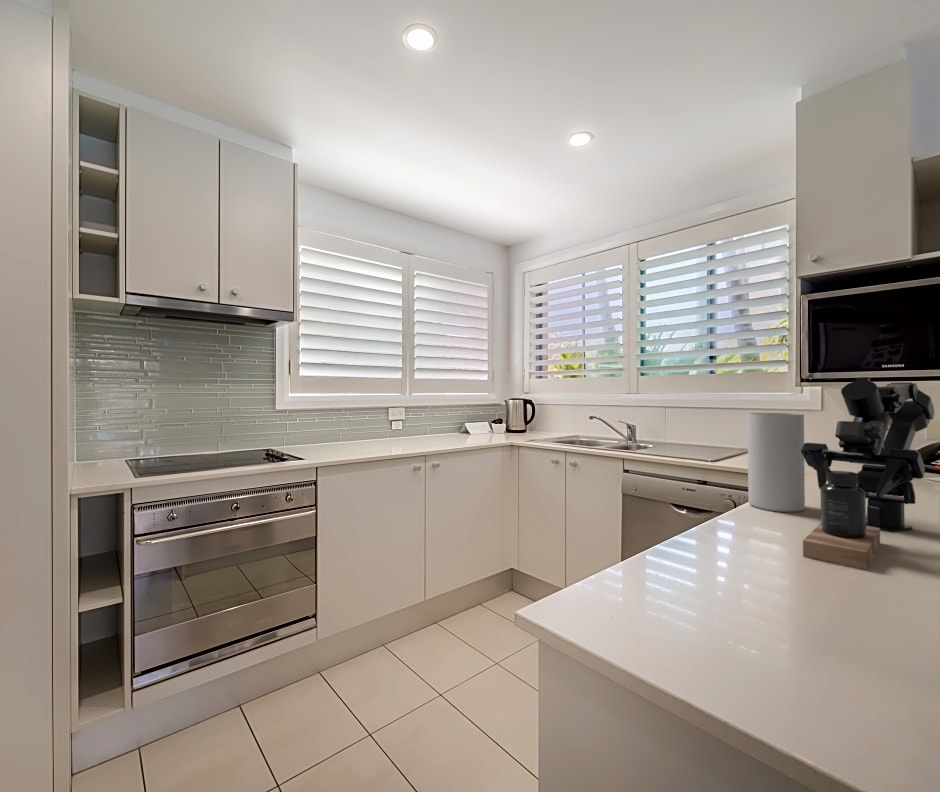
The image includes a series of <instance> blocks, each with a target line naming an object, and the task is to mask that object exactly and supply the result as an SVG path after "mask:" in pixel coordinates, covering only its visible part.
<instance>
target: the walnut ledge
mask: <svg viewBox="0 0 940 792" xmlns="http://www.w3.org/2000/svg"><path fill="white" fill-rule="evenodd" d="M880 544H881V529H880V528H876V527H872V526H868V525H866V536H865V537H863V538H846V537H839V536H834V535H830V534H827V533H825V532H824V531H823V530H822V528H821V522H820V523H819V524H818V525H817V526H816V527H815V528H814V529H813V530H812V531H811V532H810V533H809V534H808V535H807V536H806V537H805V538H804V539H802V556H803V557H804V556H806V557H805V558H809V557H810V558H809V559H813V558H816V559H815V560H818V559H821V560H820V561H823V560H826V561H825V562H828V561H831V562H830V563H833V562H835V563H834V564H838V563H840V564H839V565H842V564H844V565H843V566H847V565H849V566H848V567H852V566H853V567H852V568H858V569H863V570H868V568H869V566H870V564H871V561H872V560H873V558H874V555H875V554H876V552H877V550H878V548H879V546H880Z"/></svg>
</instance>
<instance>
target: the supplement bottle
mask: <svg viewBox="0 0 940 792" xmlns="http://www.w3.org/2000/svg"><path fill="white" fill-rule="evenodd" d="M826 482H827V483H826V484H825V485H823V486H822V487H821V489H820V520H821V521H820V523H821V528H822V530H823V531H824V532H825V533H827V534H830V535H834V536H839V537H846V538H863V537H865V536H866V526H867V525H866V521H867V504H866V501H867V498H866V496H865V492H864V490H863V489H862V488H860V487H858V486H857V483H859V480H858V472H854V471H853V472H852V471H846V470H845V471H844V470H831V471H827V478H826Z"/></svg>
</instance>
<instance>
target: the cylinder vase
mask: <svg viewBox="0 0 940 792" xmlns="http://www.w3.org/2000/svg"><path fill="white" fill-rule="evenodd" d="M804 444H805V413H795V412H794V413H793V412H749V413H747V467H748V468H747V470H748V471H747V478H748V479H747V480H748V482H747V484H748V485H747V487H748V495H747V496H748V504H750V505H751V506H752V507H754V508H757V509H761V510H764V511H770V512H771V511H772V512H779V513H780V512H781V513H797V512H798V513H799V512H802V511H803V510H805V507H806V503H805V501H806V495H805V493H806V490H805V485H806V484H805V479H806V477H805V476H806V475H805V458H804V456H803V454H802V452H801V449H802V446H803V445H804Z"/></svg>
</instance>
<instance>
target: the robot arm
mask: <svg viewBox="0 0 940 792" xmlns="http://www.w3.org/2000/svg"><path fill="white" fill-rule="evenodd" d="M916 383H917V382H916ZM916 383H915V382H914V383H913V382H910V381H909V382H908V381H907V382H905V381H904V382H890V383H887V384H886V385H885V386H878V385H877V384H876V383H874V382H873V381H871V378H870V377H867V376H866V377H862V376H861V377H857V378H856V380H854V381H852V382H849V383H847V384H846V385H844V387H842V388H841V392H840V393H841V395H842V397H843V401H844V403H845V406H846V408H847V411H848V414H849V416H852V417H853V419H852V420H851V421H850V420H847V421H846V420H844V421H843V420H839V421H837V424H836V430H835V438H838V440H839V442H838V446H839V448H840V449H841V448H842V450H835V449H833V450H832V449H829V447H828V446H827V443H819V442H804V445H803V446H802V449H801V452H802V454H803V456H804V461H805V463H806V464H807V466H808V467H811V468H812V469H813V470H814V471H816V477H817V485H818V488H819V490H821V487H822V486H823V485H825V484H827V481H826V478H827V471H832V470H831V469H830V467H831V466H832V464H833V461H836V462H847V463H850V464H856V465H862V466H861V469H860V470H859V471H858V472H857V474H858V480H859V483H857V486H858V487H860V488H862V489H863V490H864V492H865V496H866V499H867V505H866V526H869V527H876V528H880V530H884V531H888V532H900V531H909V530H910V531H911V530H913V526H909V525H905V505H914V504H916V491H915V489H914V483H913V480H914V479H915V480H917V479H919V480H921V479H923V478H924V475H925V472H926V466H925V463H924V461H923V457H922V454H921V452H919V451H918V450H917V449H911V445H912V442H913V441H914V438H915V435H916V433H918V432H920V431H922V430H924V429H926V428H928V426H929V424H930V422H931V420H934V417H935V409H934V408H935V407H934V404H933V401H932V398H931V396H929V395H928V394H926V393H925V392H923V391H921V390H920V389H918V386H917V384H916Z"/></svg>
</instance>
